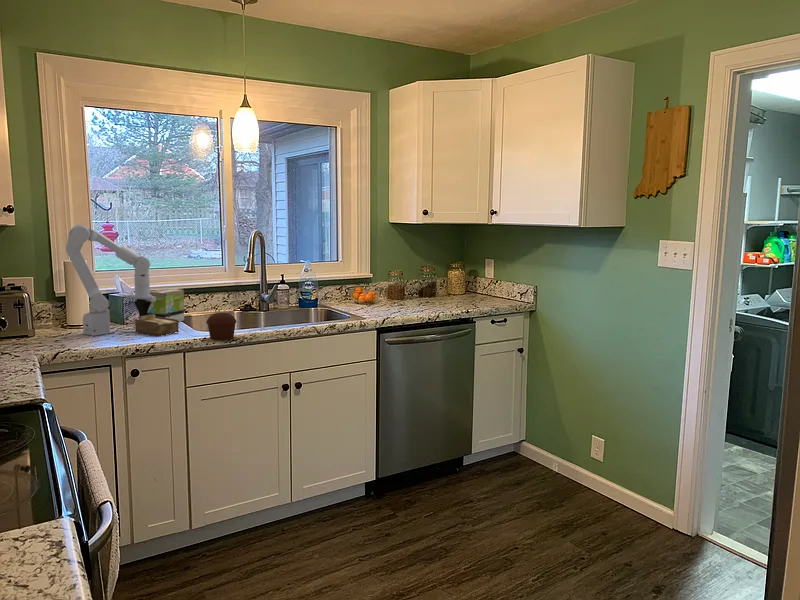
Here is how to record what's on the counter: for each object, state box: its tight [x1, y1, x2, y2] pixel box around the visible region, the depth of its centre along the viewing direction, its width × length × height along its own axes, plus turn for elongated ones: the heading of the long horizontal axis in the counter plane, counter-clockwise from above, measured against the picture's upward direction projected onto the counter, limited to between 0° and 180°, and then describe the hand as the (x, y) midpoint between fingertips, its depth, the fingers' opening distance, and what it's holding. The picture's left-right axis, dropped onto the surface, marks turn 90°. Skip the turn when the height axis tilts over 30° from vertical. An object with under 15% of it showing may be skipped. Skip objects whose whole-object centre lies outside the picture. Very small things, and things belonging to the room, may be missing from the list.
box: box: [134, 317, 180, 337], centre depth 252 cm, size 10×14×6 cm
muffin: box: [205, 311, 237, 341], centre depth 243 cm, size 12×11×10 cm
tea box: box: [147, 288, 185, 322], centre depth 277 cm, size 15×10×15 cm
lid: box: [140, 315, 177, 326], centre depth 251 cm, size 8×14×2 cm, turn 59°
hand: (143, 317), depth 257 cm, fingers closed
